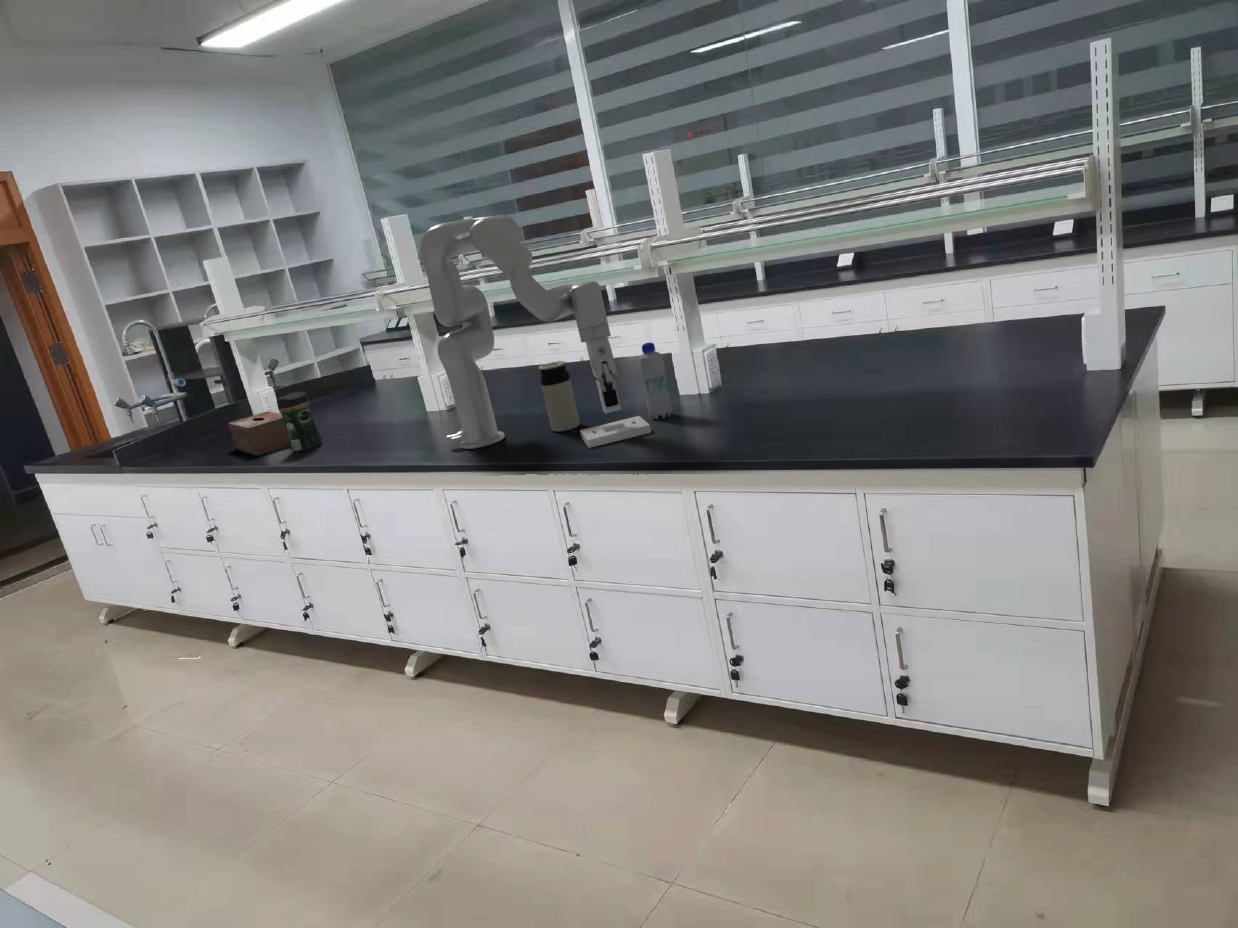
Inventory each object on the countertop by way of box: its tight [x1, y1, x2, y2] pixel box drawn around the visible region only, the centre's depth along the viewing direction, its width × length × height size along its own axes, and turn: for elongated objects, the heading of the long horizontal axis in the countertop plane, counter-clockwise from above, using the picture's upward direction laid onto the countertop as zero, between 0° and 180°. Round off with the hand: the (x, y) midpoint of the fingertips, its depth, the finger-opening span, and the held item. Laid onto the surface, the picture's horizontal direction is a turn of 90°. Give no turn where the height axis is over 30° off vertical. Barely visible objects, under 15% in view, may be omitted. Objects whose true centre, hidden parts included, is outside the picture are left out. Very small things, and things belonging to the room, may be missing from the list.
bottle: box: [638, 342, 673, 420], centre depth 230 cm, size 7×7×20 cm
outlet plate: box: [579, 415, 652, 449], centre depth 224 cm, size 16×12×2 cm
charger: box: [595, 376, 622, 414], centre depth 221 cm, size 4×4×8 cm
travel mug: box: [537, 360, 581, 433], centre depth 240 cm, size 8×8×18 cm
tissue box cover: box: [227, 410, 291, 456], centre depth 306 cm, size 26×14×10 cm, turn 38°
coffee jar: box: [276, 391, 323, 453], centre depth 286 cm, size 10×8×19 cm
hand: (610, 403), depth 221 cm, fingers closed on charger, 4 cm apart
